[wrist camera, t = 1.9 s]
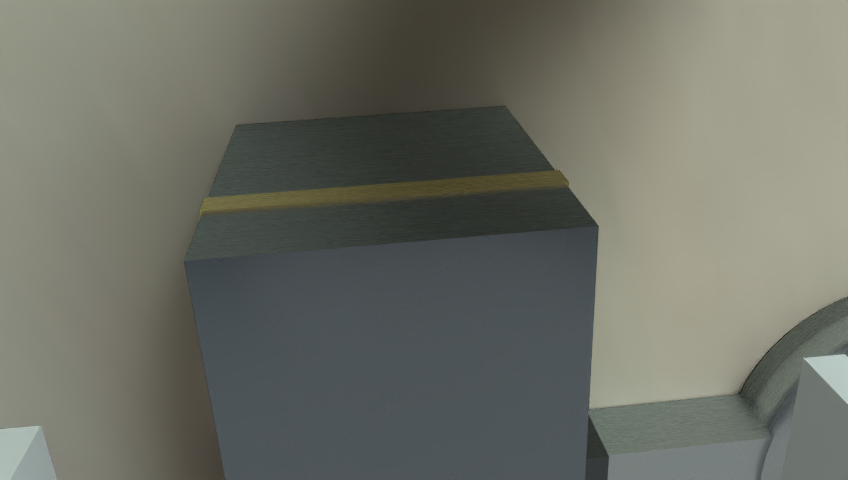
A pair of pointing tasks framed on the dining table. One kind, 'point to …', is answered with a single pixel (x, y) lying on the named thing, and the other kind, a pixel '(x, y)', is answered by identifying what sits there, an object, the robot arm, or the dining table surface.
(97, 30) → the dining table surface
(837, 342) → the ratchet
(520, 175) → the gold-striped grey cube
